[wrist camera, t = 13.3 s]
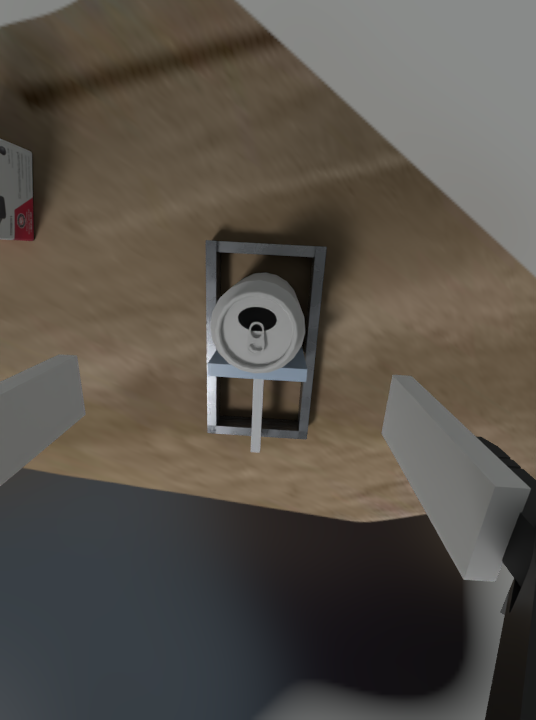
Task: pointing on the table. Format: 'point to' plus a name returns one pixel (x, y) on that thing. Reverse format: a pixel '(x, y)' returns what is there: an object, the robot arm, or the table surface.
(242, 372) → the pusher
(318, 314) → the frame
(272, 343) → the can
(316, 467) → the table surface
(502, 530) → the robot arm
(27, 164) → the ink box
